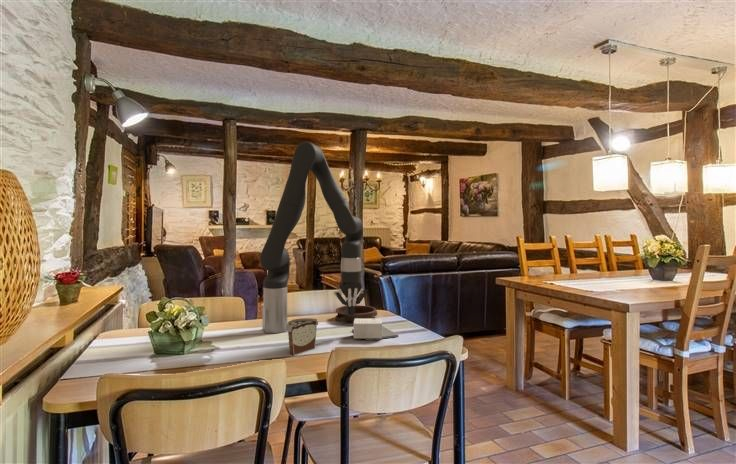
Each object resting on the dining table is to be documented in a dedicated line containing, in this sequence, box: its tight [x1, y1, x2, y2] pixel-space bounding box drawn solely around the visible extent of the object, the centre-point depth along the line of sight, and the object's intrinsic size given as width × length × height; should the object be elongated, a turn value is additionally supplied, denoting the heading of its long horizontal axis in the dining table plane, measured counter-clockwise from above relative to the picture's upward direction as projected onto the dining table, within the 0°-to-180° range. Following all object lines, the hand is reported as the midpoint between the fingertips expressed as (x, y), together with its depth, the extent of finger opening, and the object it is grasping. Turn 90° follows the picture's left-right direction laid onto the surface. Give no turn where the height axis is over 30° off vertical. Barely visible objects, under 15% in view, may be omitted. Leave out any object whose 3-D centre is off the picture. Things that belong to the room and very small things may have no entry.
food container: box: [286, 317, 319, 356], centre depth 142 cm, size 12×6×10 cm, turn 141°
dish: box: [334, 304, 378, 324], centre depth 185 cm, size 18×22×5 cm
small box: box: [353, 317, 383, 339], centre depth 158 cm, size 8×6×10 cm
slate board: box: [352, 325, 399, 342], centre depth 163 cm, size 13×14×1 cm
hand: (350, 315), depth 158 cm, fingers closed
